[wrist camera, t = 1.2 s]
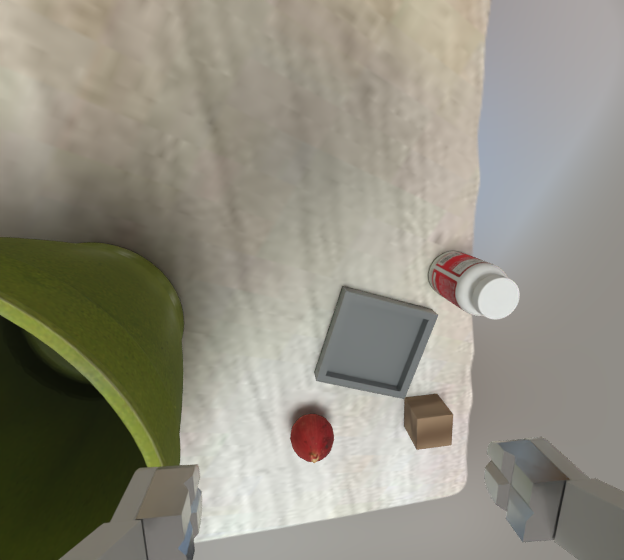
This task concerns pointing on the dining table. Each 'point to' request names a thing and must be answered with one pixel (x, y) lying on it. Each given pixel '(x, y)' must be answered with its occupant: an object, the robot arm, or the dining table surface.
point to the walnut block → (428, 421)
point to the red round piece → (312, 437)
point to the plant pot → (81, 387)
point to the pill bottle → (474, 285)
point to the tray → (374, 343)
